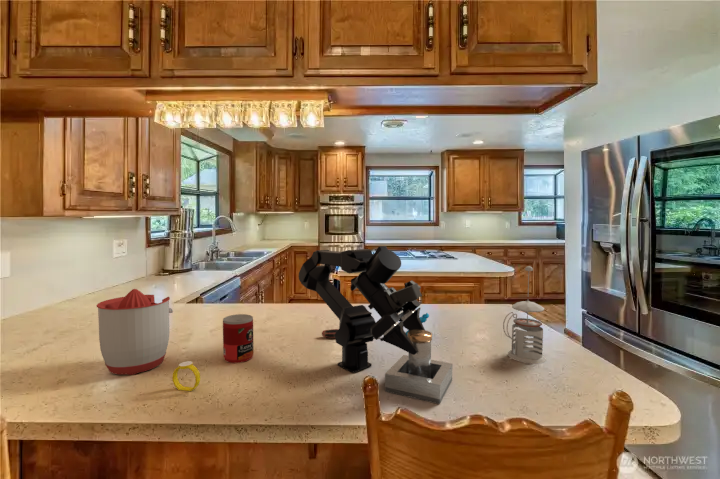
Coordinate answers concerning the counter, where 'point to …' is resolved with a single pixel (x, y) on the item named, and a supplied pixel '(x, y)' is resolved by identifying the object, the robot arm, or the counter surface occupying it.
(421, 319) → the teal bumpy piece
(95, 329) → the counter surface
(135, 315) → the citrus juicer
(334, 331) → the screwdriver
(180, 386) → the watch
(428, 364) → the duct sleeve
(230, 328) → the canned food
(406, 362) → the collar
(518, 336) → the french press
